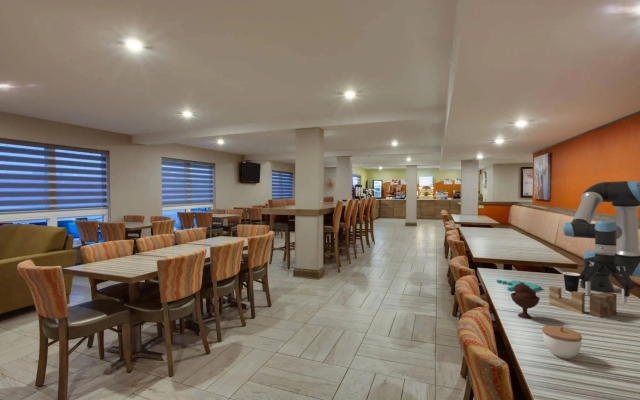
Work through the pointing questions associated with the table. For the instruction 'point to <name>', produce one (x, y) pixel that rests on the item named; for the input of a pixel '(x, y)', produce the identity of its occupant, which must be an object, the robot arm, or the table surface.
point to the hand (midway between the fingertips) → (605, 299)
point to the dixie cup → (571, 281)
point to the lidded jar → (562, 341)
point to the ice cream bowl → (524, 299)
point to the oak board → (574, 304)
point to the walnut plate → (603, 304)
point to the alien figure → (515, 282)
